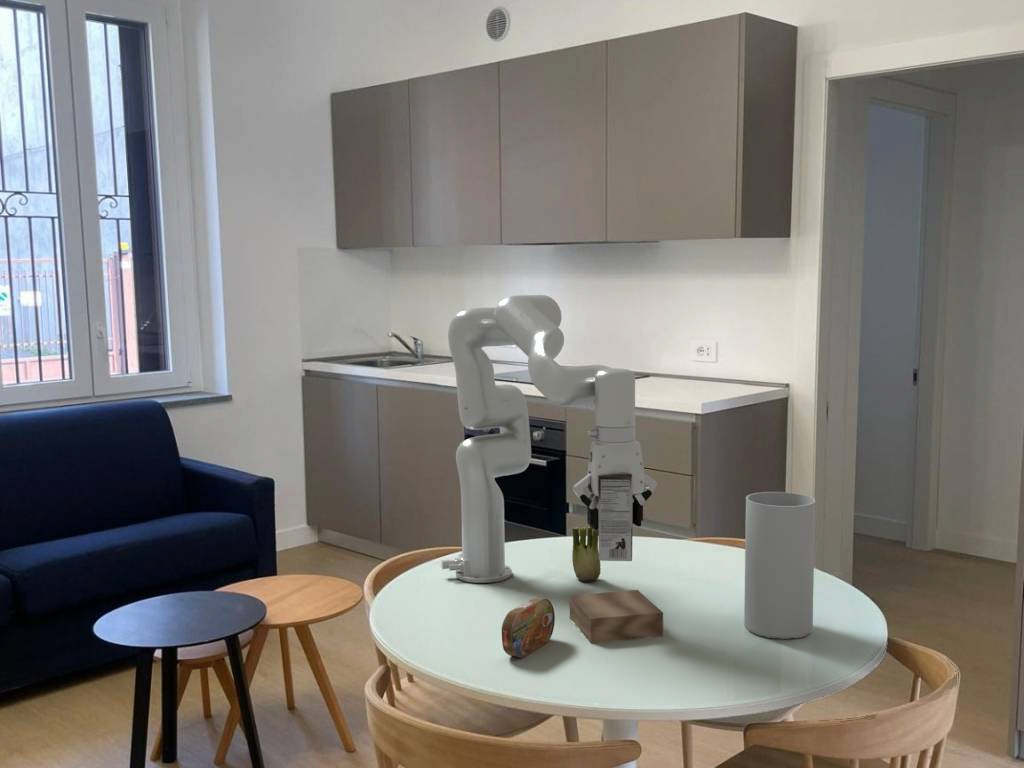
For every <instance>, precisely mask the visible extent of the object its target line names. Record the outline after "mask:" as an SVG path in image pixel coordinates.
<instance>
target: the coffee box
mask: <svg viewBox="0 0 1024 768" xmlns="http://www.w3.org/2000/svg"><path fill="white" fill-rule="evenodd" d="M633 502H634V499H633V497H632V474H613V475H600V476H599V497H598V504H597V509H598V517H599V529H598V551H599V560H600V562H615V561H616V562H633V525H634V524H633V514H632V510H633Z"/></svg>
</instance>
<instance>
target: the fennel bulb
mask: <svg viewBox="0 0 1024 768" xmlns="http://www.w3.org/2000/svg"><path fill="white" fill-rule="evenodd" d="M571 556H572V566H573V567H572V568H573V571H574V573H575V577H576V578H577V579H578V580H580V581H581V582H585V583H587V582H589V583H590V582H594V581H596V580H597V579H599V577H600V575H601V569H602V568H601V561H600V560H599V537H598V530H594V529H592V528H591V527H590V525H589V526H587V527H584V526H583V527H580V529H579V527H578V526H574V527H573V528H572V555H571Z"/></svg>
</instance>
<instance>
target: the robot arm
mask: <svg viewBox="0 0 1024 768" xmlns="http://www.w3.org/2000/svg"><path fill="white" fill-rule="evenodd" d="M561 322H562V310H561V308H560V306H559V304H558V302H556V300H555V299H553V298H552V297H550V296H548V295H545V294H544V295H543V294H534V295H532V294H528V295H527V294H526V295H524V294H523V295H521V294H520V295H511V296H508V297H505V298H503V299H502V300H501V301H499V302H498V304H497V305H496V306H495V307H474V308H468V309H465V310H462V311H459V312H458V313H456V314H455V315H454V316H453V318H452V319H451V321H450V323H449V326H448V332H447V340H448V347H449V351H450V355H451V358H452V362H453V365H454V370H455V371H454V372H455V380H456V381H455V382H456V384H455V385H456V393H457V395H456V396H457V404H458V413H459V414H458V415H459V420H460V423H461V424H462V426H464V427H465V428H466V429H468V430H473V431H478V430H479V431H480V430H489V429H490V430H491V429H498V428H499V433H494V434H493V433H492V434H484V435H476V436H473V437H469V438H467V439H465V440H463V441H462V442H460V444H459V445H458V447H457V449H456V452H455V462H456V467H457V473H458V477H459V478H458V479H459V485H460V503H461V504H460V506H461V507H460V508H461V549H462V550H461V551H462V552H461V553H459V554H458V557H456V558H454V559H445V560H441V562H440V564H441V565H440V566H441V567H440V568H441V570H449V572H450V571H455V577H456V578H457V579H459V580H460V581H463V582H467V583H473V584H474V583H475V584H488V583H489V584H490V583H491V584H492V583H497V582H502V581H506V580H508V579H509V578H510V577H511V576H512V574H513V572H512V568H511V567H509V566H508V565H506V559H505V557H506V555H505V553H506V552H505V551H506V549H505V548H506V547H505V543H506V542H505V499H504V494H503V492H502V490H501V488H500V486H499V485H498V483H497V482H496V480H495V478H500V477H503V476H510V475H517V474H520V473H523V472H525V470H527V468H528V467H529V465H530V463H531V459H532V445H531V443H532V442H531V432H530V431H531V430H530V420H529V410H528V409H529V408H528V403H527V400H526V397H525V395H524V393H523V392H522V391H521V389H520V388H518V387H517V386H516V385H512V384H498V385H497V384H496V381H495V371H494V370H495V369H494V368H495V367H494V365H493V363H492V360H491V359H490V357H489V355H488V354H487V353H486V352H485V350H484V349H482V348H484V347H485V348H486V347H502V346H504V347H506V346H517V348H519V349H520V350H521V351H522V352H523V354H525V355H526V356H527V357H528V359H527V369H528V373H529V378H530V380H531V382H532V385H533V386H534V387H535V388H536V389H537V391H539V392H540V393H541V394H542V395H543V397H545V398H546V399H547V401H549V402H550V403H552V404H554V405H555V406H558V407H562V408H568V407H576V406H585V405H586V406H588V405H594V425H593V428H592V429H588V431H587V437H588V438H593V440H594V441H592V442H591V446H590V449H589V457H588V463H587V474H586V475H585V476H584V477H583V478H581V479H580V480H579V481H578V482H576V483H575V484H574V485H573V486H572V487H571V488H572V491H573V492H574V494H575V495H576V496H577V498H578V499H579V500H580V501H581V502H582V503H583V504H584V505H585V506H586V509H587V510H586V511H587V513H586V514H587V515H586V517H587V520H586V521H587V522H586V523H587V524H588V525H589V526H590V527H591V528H592V530H593V529H594V530H598V529H599V517H598V497H599V476H600V475H613V474H632V497H633V510H632V514H633V525H635V526H637V527H642V521H644V506H645V505H646V502H647V500H649V498H650V497H651V496H652V495H653V492H654V491H655V489H656V487H657V485H658V482H657V481H656V480H655V479H653V478H652V477H651V476H649V475H647V474H646V473H645V468H644V460H643V452H642V447H641V442H640V441H639V440H636V376H635V373H634V372H633V371H632V370H631V369H628V368H615V367H614V368H613V367H610V366H607V365H603V364H589V365H575V366H574V365H573V366H565V367H564V366H561V365H560V364H559V363H558V362H556V360H554V359H556V358H557V356H559V354H560V353H561V351H563V350H562V349H563V347H564V344H565V335H564V332H563V331H562V330H561V328H559V327H560V325H561ZM645 484H646V486H645ZM586 487H587V490H588V492H590V493H589V495H588V496H587V495H586V493H584V488H586Z"/></svg>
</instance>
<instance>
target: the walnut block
mask: <svg viewBox="0 0 1024 768" xmlns="http://www.w3.org/2000/svg"><path fill="white" fill-rule="evenodd" d="M569 619H570V621H571V622H572V621H573V622H574V623H575V624H574V623H573V622H572V623H573V624H574V626H576V628H577V627H578V628H579V629H580V630H579V629H578V628H577V629H578V630H579V632H580V633H581V634H582V633H583V634H582V635H583V636H584V637H585V639H586V640H587V639H588V640H587V641H588V642H589V643H590V644H599V643H607V642H608V643H609V642H620V641H621V642H622V641H630V640H632V641H633V640H640V639H653V638H662V637H664V612H663V611H662V610H661V609H660V608H659V607H658V606H656V605H655V604H654V603H653V602H652V601H651V600H650V599H648V597H646V596H645V595H644V594H643V593H642V592H641V591H640V590H638V589H633V590H631V589H630V590H620V591H609V592H608V591H606V592H595V593H585V594H572V595H569Z"/></svg>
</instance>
